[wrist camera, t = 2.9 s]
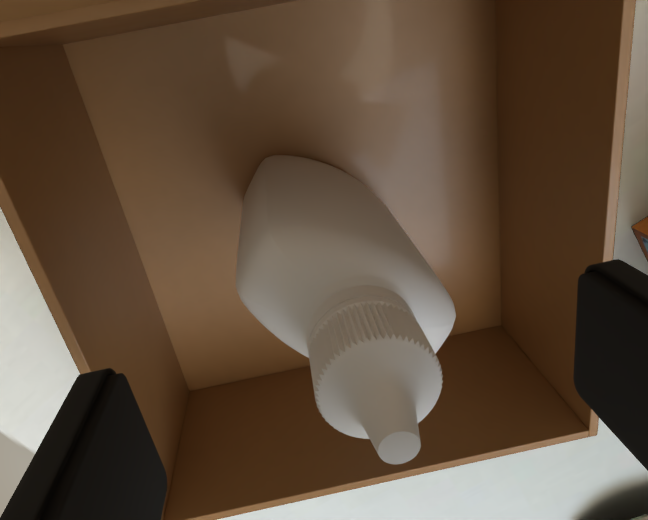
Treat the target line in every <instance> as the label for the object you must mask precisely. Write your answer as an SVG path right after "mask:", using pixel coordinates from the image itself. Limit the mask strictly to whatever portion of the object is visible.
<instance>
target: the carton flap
mask: <svg viewBox="0 0 648 520" xmlns="http://www.w3.org/2000/svg"><path fill="white" fill-rule="evenodd" d="M113 1H118V0H0V22H5V21H11V20H16V19H21V18H27V17H32V16H38V15H43V14H48V13H54V12H59V11H64V10H70V9H75V8H81V7H86V6H91V5H97V4H102V3H108V2H113Z"/></svg>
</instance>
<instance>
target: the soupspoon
mask: <svg viewBox="0 0 648 520" xmlns="http://www.w3.org/2000/svg"><path fill="white" fill-rule="evenodd" d="M630 520H648V514H646V515H642V516H639V517H635V518H632V519H630Z"/></svg>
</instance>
